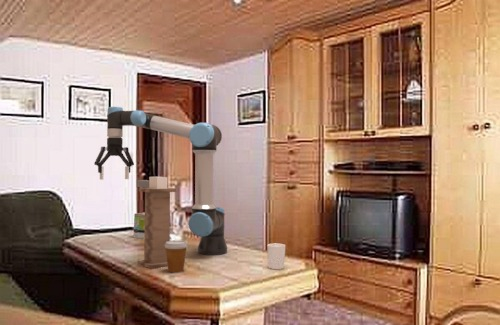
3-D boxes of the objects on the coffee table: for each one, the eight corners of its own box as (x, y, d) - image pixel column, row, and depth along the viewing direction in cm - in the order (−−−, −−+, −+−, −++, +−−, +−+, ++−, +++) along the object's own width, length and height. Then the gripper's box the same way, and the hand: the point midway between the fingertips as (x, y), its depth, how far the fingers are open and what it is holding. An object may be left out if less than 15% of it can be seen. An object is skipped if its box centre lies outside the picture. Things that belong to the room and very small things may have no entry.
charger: (135, 186, 213) (135, 176, 213) (145, 186, 217) (145, 175, 217) (157, 188, 198) (157, 177, 198) (167, 188, 202) (167, 177, 202)
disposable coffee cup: (188, 272, 189) (189, 243, 189) (165, 274, 186) (165, 244, 186) (185, 267, 198) (185, 239, 198) (163, 268, 195) (163, 240, 195)
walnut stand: (137, 264, 203) (138, 187, 204) (161, 260, 211) (162, 187, 211) (151, 269, 194) (152, 189, 194) (175, 265, 202) (176, 188, 202)
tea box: (147, 239, 271) (147, 214, 271) (133, 238, 274) (133, 213, 274) (161, 235, 285) (161, 211, 285) (147, 234, 288) (147, 211, 288)
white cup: (279, 270, 194) (280, 247, 194) (263, 268, 199) (264, 245, 199) (288, 267, 201) (288, 244, 201) (272, 265, 205) (272, 242, 205)
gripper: (134, 138, 243) (133, 178, 243) (87, 136, 227) (87, 179, 226) (140, 138, 237) (140, 179, 237) (93, 136, 221) (93, 179, 221)
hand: (114, 179), depth 232 cm, fingers open, 13 cm apart
